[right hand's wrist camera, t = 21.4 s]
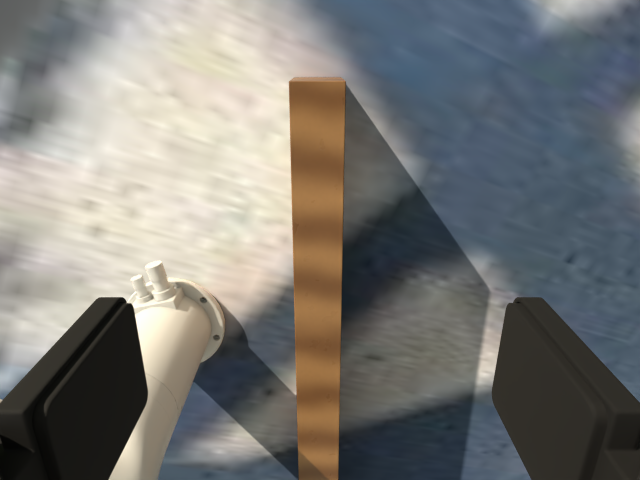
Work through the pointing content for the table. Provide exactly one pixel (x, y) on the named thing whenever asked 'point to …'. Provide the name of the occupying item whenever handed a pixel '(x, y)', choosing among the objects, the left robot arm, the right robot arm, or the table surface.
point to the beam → (317, 266)
